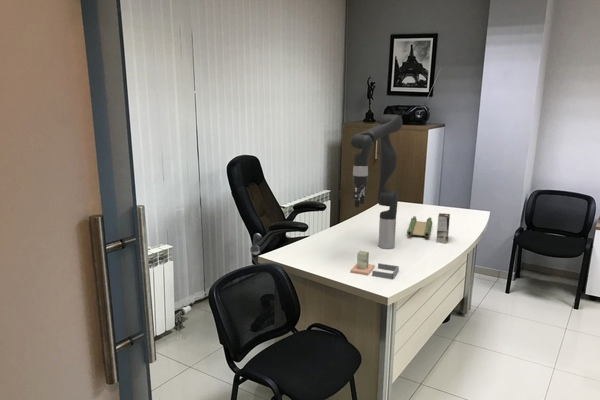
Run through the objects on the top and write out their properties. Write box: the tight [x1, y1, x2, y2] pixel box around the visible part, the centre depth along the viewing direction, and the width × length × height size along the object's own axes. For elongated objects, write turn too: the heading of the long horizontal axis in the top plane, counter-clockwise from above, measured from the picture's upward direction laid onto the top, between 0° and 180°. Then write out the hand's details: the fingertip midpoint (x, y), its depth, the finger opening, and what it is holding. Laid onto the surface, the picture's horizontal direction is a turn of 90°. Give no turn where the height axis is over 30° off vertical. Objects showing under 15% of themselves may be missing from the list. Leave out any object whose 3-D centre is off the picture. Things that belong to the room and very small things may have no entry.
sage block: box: [356, 250, 370, 270], centre depth 225 cm, size 4×4×8 cm
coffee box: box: [435, 213, 451, 244], centre depth 271 cm, size 9×6×16 cm
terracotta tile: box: [349, 263, 376, 276], centre depth 226 cm, size 12×9×1 cm
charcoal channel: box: [371, 262, 400, 280], centre depth 221 cm, size 12×10×2 cm
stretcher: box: [406, 215, 433, 238], centre depth 293 cm, size 41×14×5 cm, turn 162°
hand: (359, 205), depth 232 cm, fingers open, 8 cm apart
